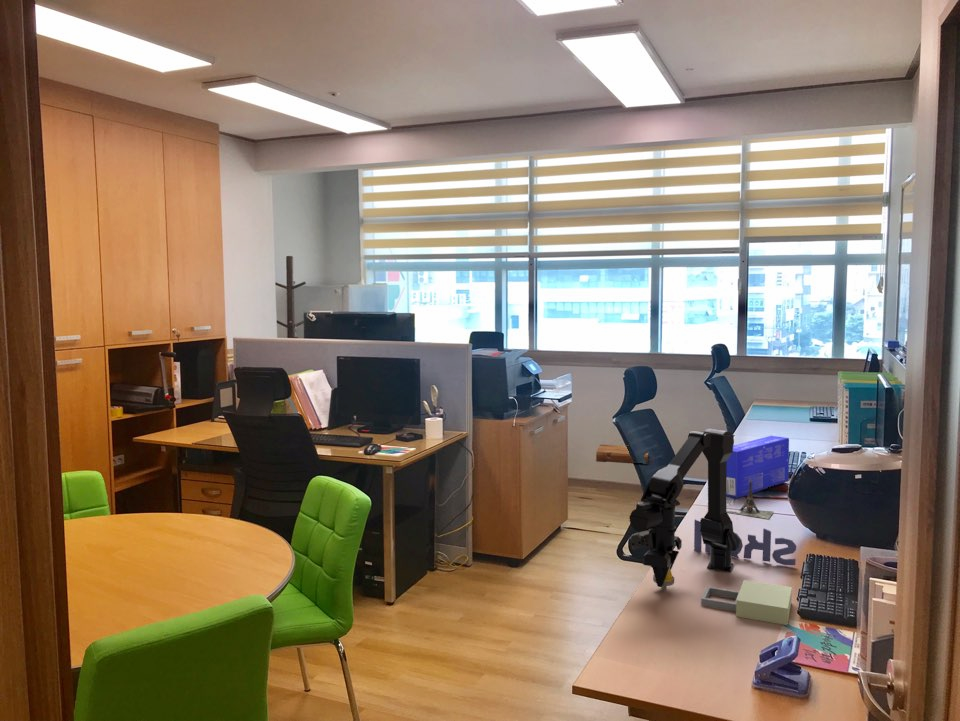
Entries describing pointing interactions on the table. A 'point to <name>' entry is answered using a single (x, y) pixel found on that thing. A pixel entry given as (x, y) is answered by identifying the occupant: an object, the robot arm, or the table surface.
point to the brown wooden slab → (615, 454)
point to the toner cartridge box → (757, 465)
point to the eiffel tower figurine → (751, 505)
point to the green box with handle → (754, 601)
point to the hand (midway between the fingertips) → (662, 582)
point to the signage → (753, 546)
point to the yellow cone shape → (666, 580)
